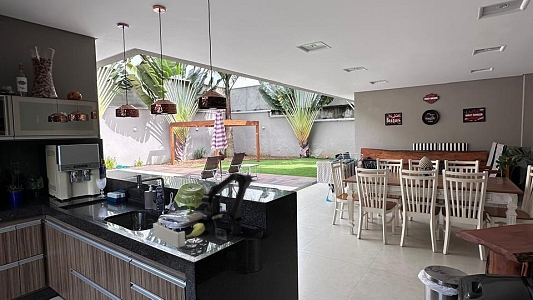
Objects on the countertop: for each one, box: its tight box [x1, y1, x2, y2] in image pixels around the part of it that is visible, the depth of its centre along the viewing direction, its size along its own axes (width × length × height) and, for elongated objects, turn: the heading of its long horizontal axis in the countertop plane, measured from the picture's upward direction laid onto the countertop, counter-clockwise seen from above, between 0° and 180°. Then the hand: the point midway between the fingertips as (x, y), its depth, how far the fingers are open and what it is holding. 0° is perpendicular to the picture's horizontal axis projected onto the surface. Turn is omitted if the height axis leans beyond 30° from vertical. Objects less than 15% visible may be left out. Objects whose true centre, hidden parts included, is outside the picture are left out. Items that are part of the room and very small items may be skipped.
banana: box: [185, 222, 206, 239], centre depth 190 cm, size 14×6×20 cm
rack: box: [152, 220, 186, 249], centre depth 176 cm, size 30×5×11 cm, turn 46°
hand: (216, 227), depth 196 cm, fingers closed
